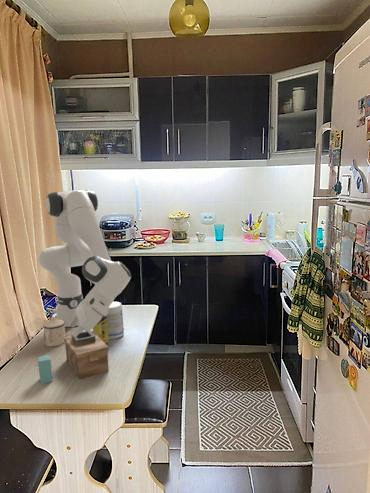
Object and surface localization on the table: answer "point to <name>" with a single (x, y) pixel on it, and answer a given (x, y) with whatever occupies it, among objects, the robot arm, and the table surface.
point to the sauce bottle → (102, 329)
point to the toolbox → (86, 354)
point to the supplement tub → (115, 320)
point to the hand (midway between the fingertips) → (72, 330)
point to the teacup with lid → (54, 332)
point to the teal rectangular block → (45, 369)
